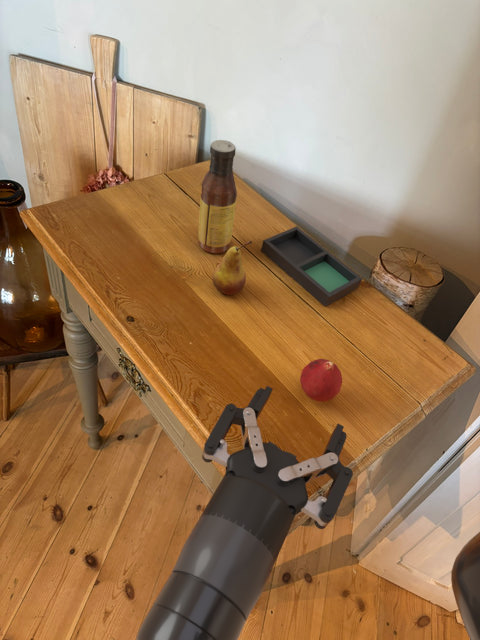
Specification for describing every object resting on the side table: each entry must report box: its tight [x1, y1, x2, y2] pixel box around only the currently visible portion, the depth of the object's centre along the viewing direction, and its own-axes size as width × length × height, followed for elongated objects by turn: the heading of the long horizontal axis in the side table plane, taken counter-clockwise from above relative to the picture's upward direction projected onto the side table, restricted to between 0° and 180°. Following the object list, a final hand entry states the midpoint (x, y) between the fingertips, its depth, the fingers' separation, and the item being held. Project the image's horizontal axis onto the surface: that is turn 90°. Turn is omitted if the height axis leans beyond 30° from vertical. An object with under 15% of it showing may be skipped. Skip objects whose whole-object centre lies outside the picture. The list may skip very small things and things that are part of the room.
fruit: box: [212, 240, 253, 296], centre depth 76 cm, size 6×6×12 cm
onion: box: [299, 358, 343, 402], centre depth 65 cm, size 6×6×8 cm
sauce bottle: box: [197, 139, 238, 255], centre depth 80 cm, size 6×6×20 cm
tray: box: [260, 226, 364, 308], centre depth 86 cm, size 9×17×3 cm, turn 40°
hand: (302, 409), depth 51 cm, fingers open, 8 cm apart
